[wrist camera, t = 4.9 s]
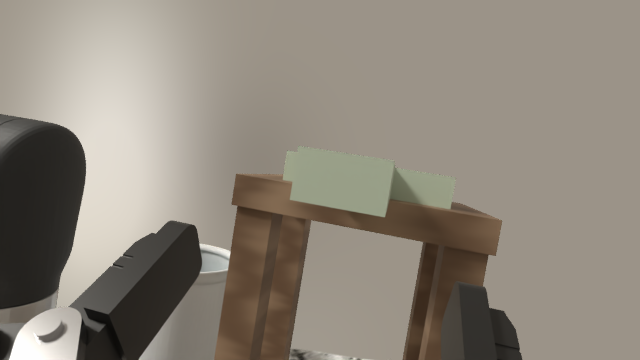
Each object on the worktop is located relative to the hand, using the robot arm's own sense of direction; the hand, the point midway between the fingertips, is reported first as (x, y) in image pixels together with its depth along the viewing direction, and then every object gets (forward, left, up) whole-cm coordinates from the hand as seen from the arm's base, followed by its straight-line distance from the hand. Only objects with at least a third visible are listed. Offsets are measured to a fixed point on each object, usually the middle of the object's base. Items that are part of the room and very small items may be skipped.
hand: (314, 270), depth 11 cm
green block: (+3, +12, +2) cm, 12 cm away
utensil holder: (-14, +43, -30) cm, 55 cm away
